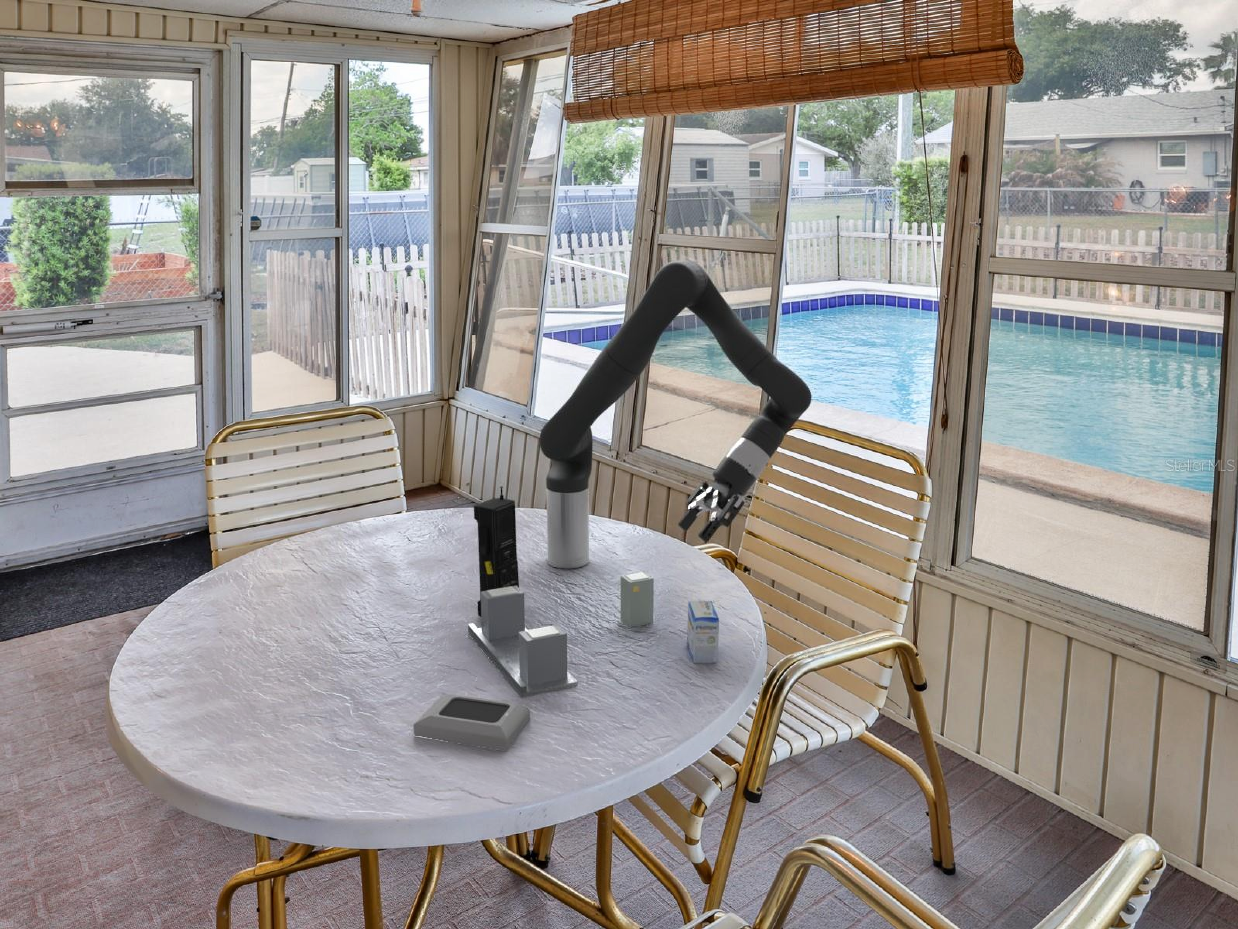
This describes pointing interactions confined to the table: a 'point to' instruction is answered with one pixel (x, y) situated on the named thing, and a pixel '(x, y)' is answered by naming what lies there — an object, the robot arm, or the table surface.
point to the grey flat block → (473, 721)
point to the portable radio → (496, 544)
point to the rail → (514, 664)
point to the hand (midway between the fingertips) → (691, 533)
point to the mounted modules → (525, 635)
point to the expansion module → (637, 599)
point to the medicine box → (702, 632)
